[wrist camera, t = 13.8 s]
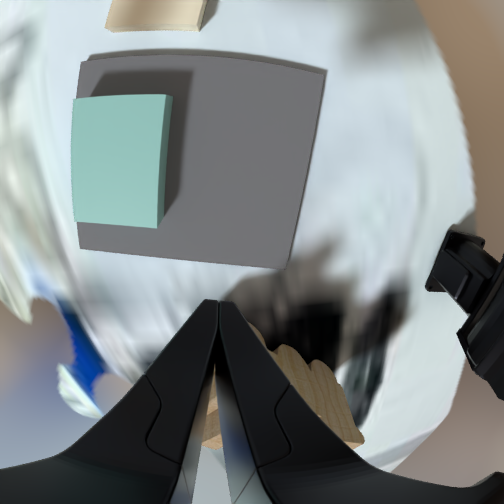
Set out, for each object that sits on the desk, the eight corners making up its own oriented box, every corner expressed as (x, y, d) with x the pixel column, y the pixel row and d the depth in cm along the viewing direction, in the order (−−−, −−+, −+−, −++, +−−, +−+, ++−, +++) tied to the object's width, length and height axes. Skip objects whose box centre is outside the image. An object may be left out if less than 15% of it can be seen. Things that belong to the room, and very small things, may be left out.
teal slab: (165, 94, 13) (73, 98, 12) (157, 228, 16) (74, 221, 16) (173, 96, 15) (88, 99, 14) (163, 216, 18) (86, 210, 18)
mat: (321, 76, 15) (324, 75, 15) (284, 265, 21) (285, 269, 21) (85, 62, 13) (81, 61, 12) (83, 245, 19) (80, 248, 19)
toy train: (216, 302, 23) (212, 409, 14) (341, 371, 29) (366, 445, 20) (181, 339, 25) (168, 435, 16) (305, 395, 30) (322, 466, 22)
